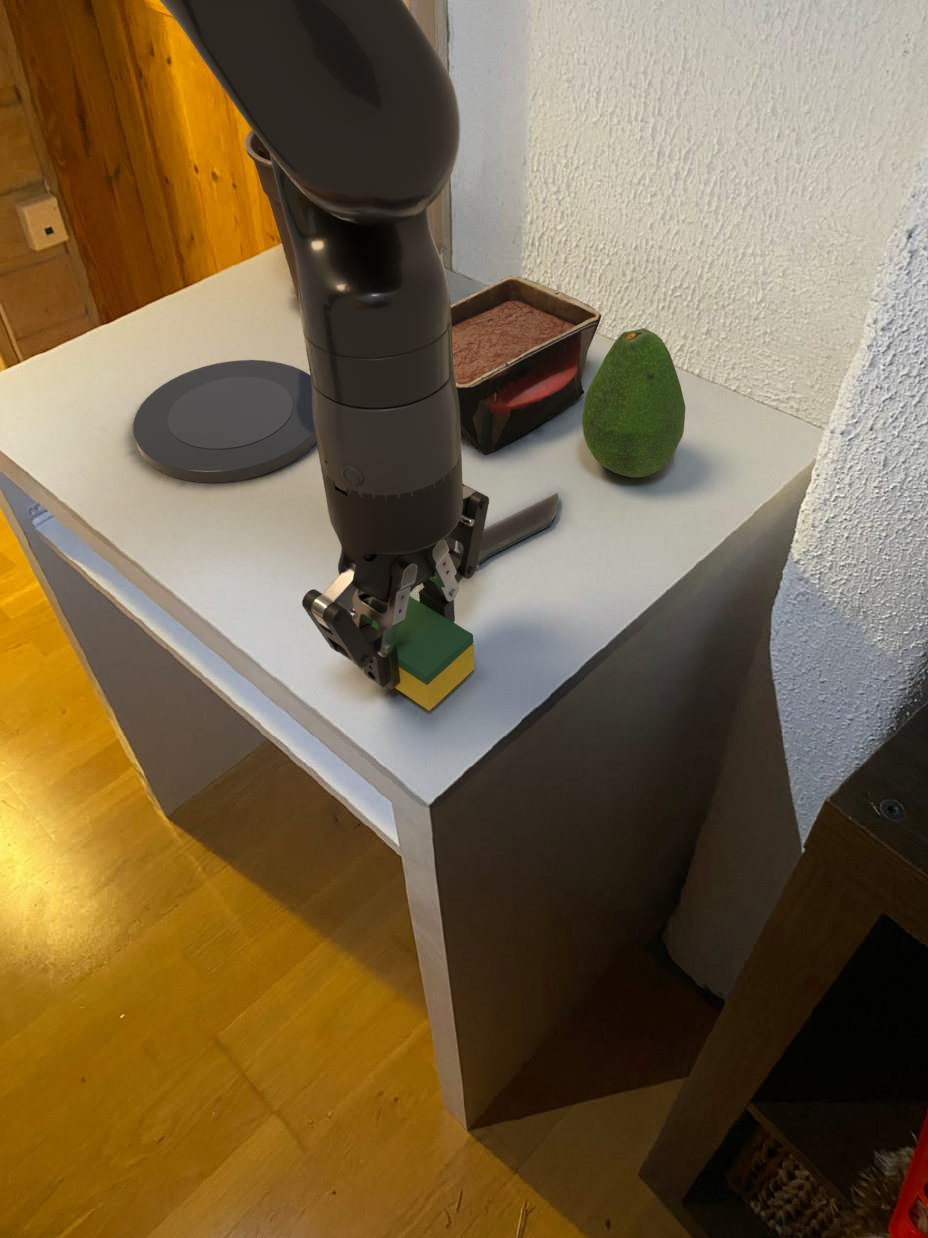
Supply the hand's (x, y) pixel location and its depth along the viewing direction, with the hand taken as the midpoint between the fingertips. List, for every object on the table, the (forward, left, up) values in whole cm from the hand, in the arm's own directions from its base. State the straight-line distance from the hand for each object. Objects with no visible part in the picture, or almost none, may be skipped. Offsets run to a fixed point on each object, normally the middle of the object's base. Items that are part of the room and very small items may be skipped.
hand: (411, 656), depth 61 cm
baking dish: (+28, +16, -2) cm, 32 cm away
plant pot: (+34, +40, -2) cm, 53 cm away
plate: (+11, +32, -2) cm, 34 cm away
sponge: (0, 0, -1) cm, 1 cm away
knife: (+14, +4, -2) cm, 14 cm away
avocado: (+27, +1, -2) cm, 27 cm away
